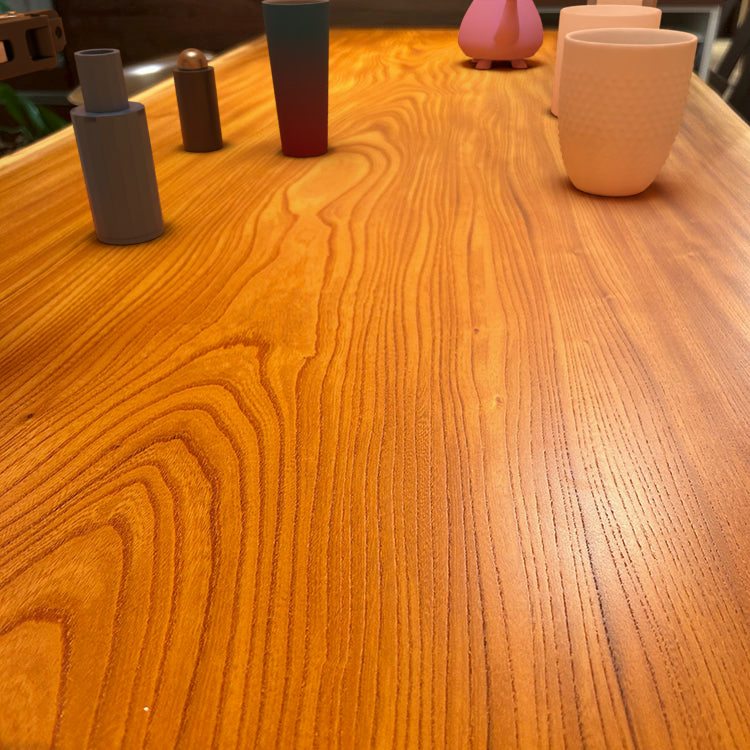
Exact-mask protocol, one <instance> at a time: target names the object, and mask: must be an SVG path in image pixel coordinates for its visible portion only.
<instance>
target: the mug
mask: <svg viewBox="0 0 750 750" xmlns="http://www.w3.org/2000/svg"><path fill="white" fill-rule="evenodd" d="M698 40H699V39H698V36H696V35H695V34H694V33H693V34H692V33H691V32H690V33H689V32H685V31H681V30H673V29H663V28H662V29H661V28H659V29H649V28H601V29H588V30H580V31H575V32H571V33H568V34H567V35H566V36H565V40H564V49H563V59H562V65H561V66H562V68H561V71H560V74H561V77H560V87H559V102H558V117H557V123H558V124H557V130H558V135H557V136H558V138H559V141H558V142H559V147H560V148H559V151H560V153H561V159H562V163H563V165H564V168H565V172H566V173H567V176H568V178H569V180H570V181H571V183H572V185H573V186H574V187H575V188H576V189H578V190H579V191H581V192H584V193H587V194H590V195H595V196H602V197H629V196H634V195H637V194H640V193H642V192H644V191H645V190H646V189H647V188H649V187H650V185H652V184H653V182H654V181H655V180H656V178H657V177H658V176H659V174H660V173H661V171H662V170H663V167H664V166H665V165H666V162H667V160H668V158H669V157H670V154H671V151H672V150H673V145H674V143H675V142H676V140H677V139H676V138H677V136H678V134H679V129H680V127H681V126H682V123H681V122H682V120H683V116H684V112H685V110H686V104H687V101H688V95H689V94H690V86H691V80H692V78H693V70H694V66H695V64H694V63H695V59H696V58H695V57H696V52H697V47H698V42H699V41H698Z"/></svg>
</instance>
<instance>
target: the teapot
mask: <svg viewBox="0 0 750 750" xmlns="http://www.w3.org/2000/svg"><path fill="white" fill-rule="evenodd" d="M457 43H458V44H457V45H458V47H459V48H460V50H461V51H462V53H463V54H464V55H465V56H466V57H468V58H471V59H472V60H471V63H475V69H479V70H487V69H491V68H492V63H493V61H506V62H509V63H511V68H513V69H526V68H528V65H527V63H526V61H525V59H528V58H532V57H534V56H535V55H536V54H537V52H538V51H539V50H540V49H541V47H542V46H543V44H544V28H543V23H542V19H541V16H540V13H539V11H538V9H537V7H536V4H535V2H534V0H472V1H471V4H470V5H469V7H468V9H467V11H466V12H465V14H464V16H463V18H462V21H461V23H460V26H459V30H458V36H457Z"/></svg>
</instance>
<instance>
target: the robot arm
mask: <svg viewBox="0 0 750 750" xmlns="http://www.w3.org/2000/svg"><path fill="white" fill-rule="evenodd" d="M66 45H67V39H66V35H65V29H64V25H63V20H62V17H60V16H59V13H58V12H57V10H55V9H38V10H33V11H26V12H21V13H20V12H19V13H18V11H14V10H13V11H12V10H11V11H6V13H5V14H0V81H3V80H8V79H11V78H12V79H13V78H16V77H19V76H23V75H27V74H31V73H34V72H38V71H43V70H52V69H53V68H54V67H57V66H59V62H58V57H57V53H59V52H62V51H63V50H64V49H65V46H66Z"/></svg>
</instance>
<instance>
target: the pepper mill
mask: <svg viewBox="0 0 750 750" xmlns="http://www.w3.org/2000/svg"><path fill="white" fill-rule="evenodd" d="M176 63H177V64H176V65H177V67H174V68H173V69H172V77H173V84H174V90H175V97H176V104H177V105H176V106H177V112H178V119H179V125H180V132H181V139H182V147H183V150H185V151H186V152H190V153H207V152H208V153H209V152H213V151H217V150H220V149H223V147H224V141H223V133H222V125H221V116H220V108H219V98H218V90H217V83H216V81H217V80H216V73H215V67H214V66H213V65H209V62H208V59H207V57H206V55H205V54H204V53H203V52H202V51H201V50H199V49H197V48H193V47H191V48H186V49H184V50H182V51H181V52H180V54H179V55H178V57H177V62H176Z"/></svg>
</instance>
